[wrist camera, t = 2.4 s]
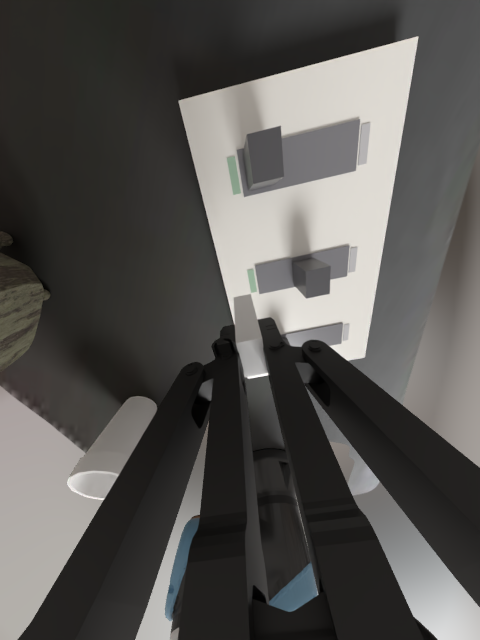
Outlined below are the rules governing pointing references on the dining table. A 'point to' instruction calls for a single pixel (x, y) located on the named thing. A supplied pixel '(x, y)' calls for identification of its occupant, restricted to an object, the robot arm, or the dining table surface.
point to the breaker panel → (306, 187)
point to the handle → (263, 158)
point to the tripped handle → (311, 277)
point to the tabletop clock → (17, 306)
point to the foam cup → (112, 449)
